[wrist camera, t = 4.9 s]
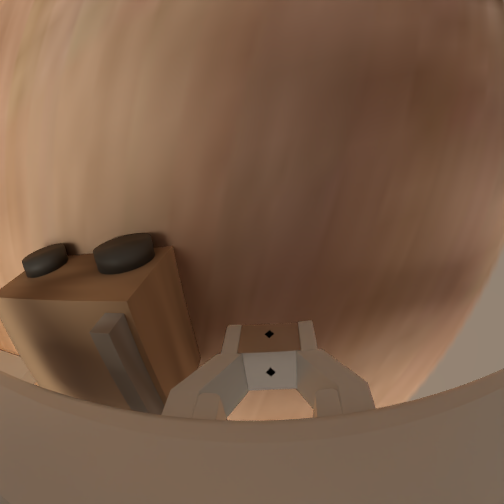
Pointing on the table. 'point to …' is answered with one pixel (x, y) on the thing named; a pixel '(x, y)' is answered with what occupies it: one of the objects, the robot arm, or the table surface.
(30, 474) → the robot arm
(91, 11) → the table surface
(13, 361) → the bay
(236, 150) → the table surface
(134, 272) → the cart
